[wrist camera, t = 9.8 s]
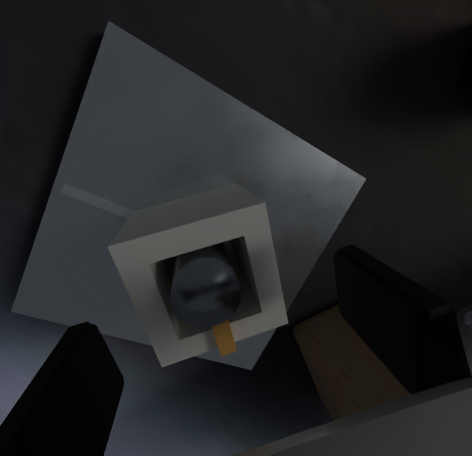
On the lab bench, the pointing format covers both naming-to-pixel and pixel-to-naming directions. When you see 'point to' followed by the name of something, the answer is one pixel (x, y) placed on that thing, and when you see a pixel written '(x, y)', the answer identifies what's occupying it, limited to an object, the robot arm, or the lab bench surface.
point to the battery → (467, 75)
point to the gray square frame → (189, 239)
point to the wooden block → (344, 366)
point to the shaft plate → (172, 196)
